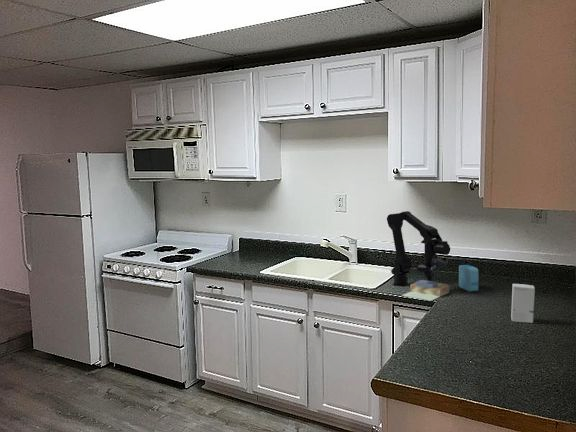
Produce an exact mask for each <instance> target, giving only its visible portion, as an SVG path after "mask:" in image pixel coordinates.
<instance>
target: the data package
mask: <svg viewBox="0 0 576 432" xmlns="http://www.w3.org/2000/svg"><path fill="white" fill-rule="evenodd" d="M458 287H459V288H460V289H463V290H465V291H467V292H469V293H470V292H477V291H479V269H478V268H477V267H475V266H472V265H469V264H461V265H458Z"/></svg>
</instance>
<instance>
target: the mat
mask: <svg viewBox="0 0 576 432" xmlns="http://www.w3.org/2000/svg"><path fill="white" fill-rule="evenodd" d="M401 297H405V298H406V297H408V298H413V299H418V300H423V301H430V302H431V301H435V300H436V299H438V298H440V296H434V295H428V294H422V293H416V292H410V291H408V292H406V293H404V294H401Z"/></svg>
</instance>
